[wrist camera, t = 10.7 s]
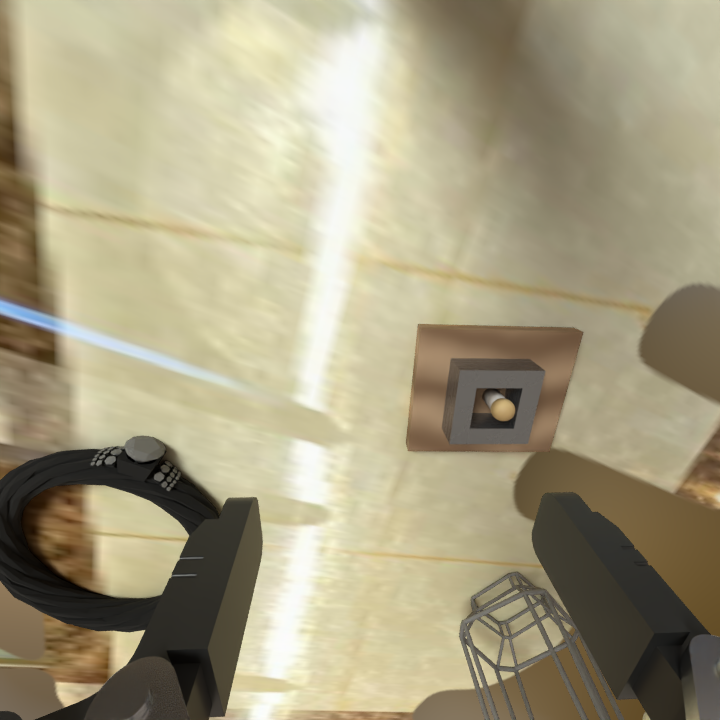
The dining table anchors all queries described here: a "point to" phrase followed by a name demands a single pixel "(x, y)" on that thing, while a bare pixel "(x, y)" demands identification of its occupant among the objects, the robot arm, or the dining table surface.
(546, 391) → the keeper block
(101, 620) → the black studded ring
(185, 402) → the dining table surface
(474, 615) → the geometric lantern
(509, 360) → the grey square frame
